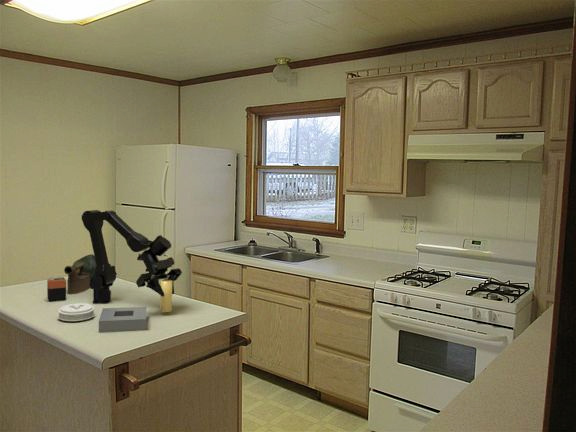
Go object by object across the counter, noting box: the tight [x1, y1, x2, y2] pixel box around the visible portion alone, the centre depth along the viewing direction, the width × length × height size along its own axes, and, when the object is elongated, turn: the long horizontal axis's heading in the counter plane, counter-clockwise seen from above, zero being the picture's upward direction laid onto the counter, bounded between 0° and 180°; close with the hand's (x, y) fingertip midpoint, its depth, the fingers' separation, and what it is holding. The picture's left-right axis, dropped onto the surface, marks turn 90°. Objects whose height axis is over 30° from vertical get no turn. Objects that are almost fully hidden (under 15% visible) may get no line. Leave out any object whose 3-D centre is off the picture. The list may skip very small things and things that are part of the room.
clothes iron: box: [63, 262, 90, 295], centre depth 223 cm, size 8×16×13 cm, turn 0°
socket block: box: [98, 306, 148, 333], centre depth 180 cm, size 16×16×4 cm
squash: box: [71, 253, 96, 283], centre depth 239 cm, size 14×15×15 cm
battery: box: [46, 275, 67, 303], centre depth 208 cm, size 4×7×10 cm, turn 124°
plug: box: [159, 279, 173, 313], centre depth 194 cm, size 4×4×12 cm
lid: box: [57, 303, 95, 322], centre depth 185 cm, size 13×13×5 cm
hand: (168, 294), depth 193 cm, fingers closed on plug, 4 cm apart
